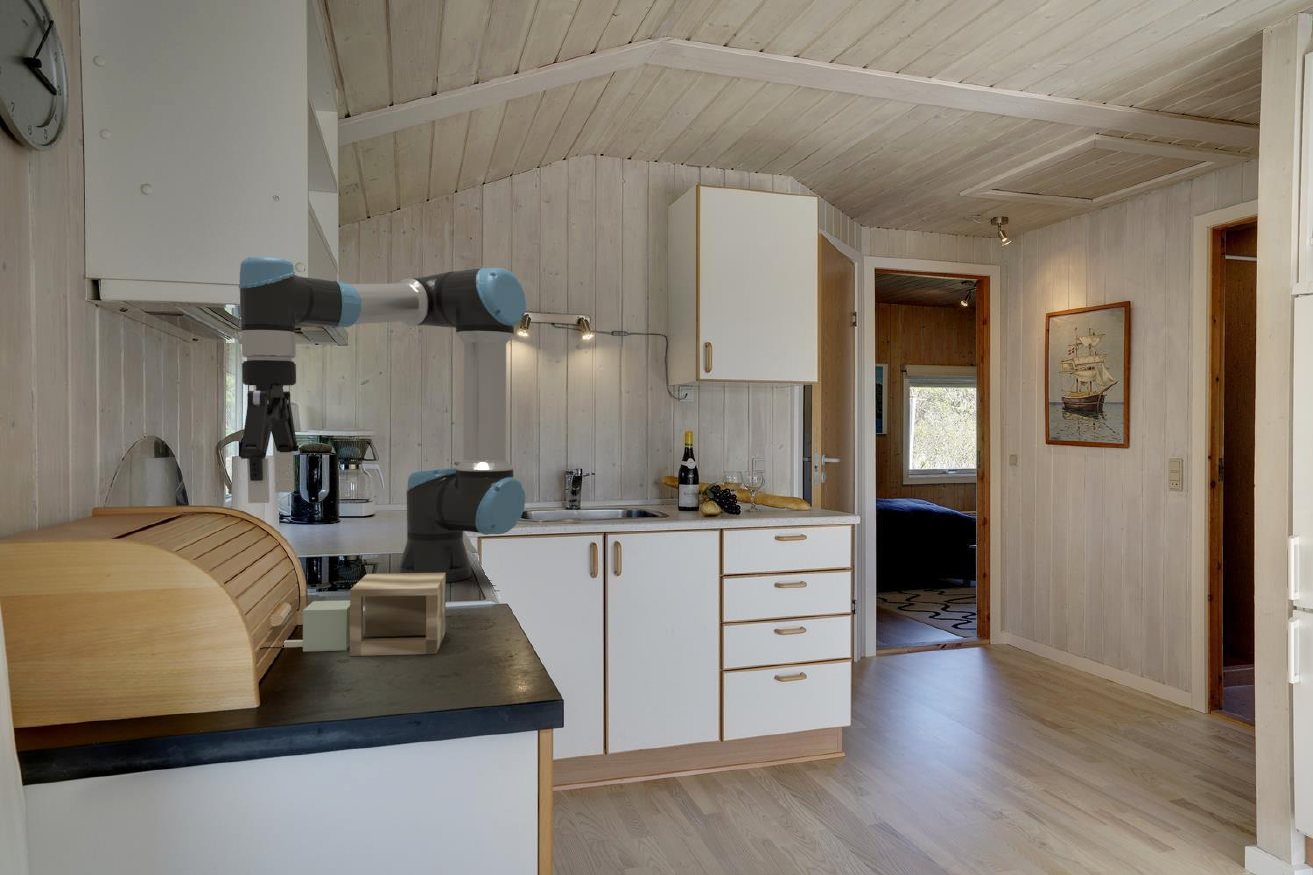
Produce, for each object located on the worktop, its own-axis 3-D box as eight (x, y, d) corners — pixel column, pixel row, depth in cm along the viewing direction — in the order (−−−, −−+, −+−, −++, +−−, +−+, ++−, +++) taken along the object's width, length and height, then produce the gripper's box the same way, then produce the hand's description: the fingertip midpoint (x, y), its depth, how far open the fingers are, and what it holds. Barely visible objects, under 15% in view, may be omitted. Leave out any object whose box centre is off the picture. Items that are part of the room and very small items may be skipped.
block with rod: (250, 642, 123) (250, 569, 123) (354, 639, 126) (355, 567, 126) (236, 653, 117) (236, 576, 117) (346, 650, 120) (346, 575, 120)
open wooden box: (366, 634, 129) (367, 573, 129) (445, 632, 131) (445, 572, 130) (349, 655, 117) (350, 589, 117) (436, 653, 119) (437, 588, 119)
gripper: (267, 363, 138) (270, 488, 139) (213, 355, 114) (217, 508, 115) (314, 363, 139) (317, 487, 141) (271, 356, 115) (275, 507, 116)
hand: (272, 497), depth 128 cm, fingers open, 13 cm apart
